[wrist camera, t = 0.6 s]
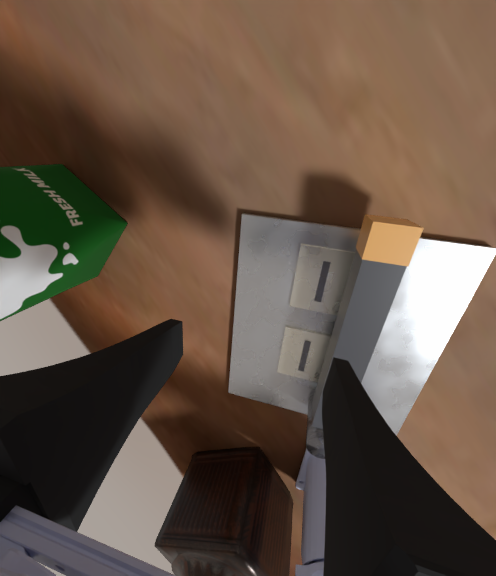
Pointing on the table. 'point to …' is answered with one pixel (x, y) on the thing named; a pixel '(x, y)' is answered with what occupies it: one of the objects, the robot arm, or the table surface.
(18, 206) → the milk carton
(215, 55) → the table surface
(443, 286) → the tray base
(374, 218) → the swing arm
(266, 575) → the manual coffee grinder
